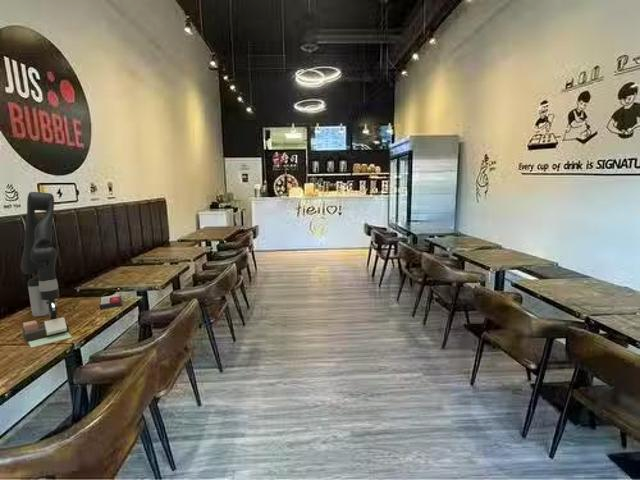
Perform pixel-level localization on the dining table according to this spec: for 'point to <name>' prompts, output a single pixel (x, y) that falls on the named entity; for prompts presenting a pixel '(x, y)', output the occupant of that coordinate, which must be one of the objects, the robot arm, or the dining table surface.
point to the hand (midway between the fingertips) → (54, 323)
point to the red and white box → (110, 302)
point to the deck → (39, 333)
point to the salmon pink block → (30, 326)
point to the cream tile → (55, 326)
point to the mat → (49, 340)
